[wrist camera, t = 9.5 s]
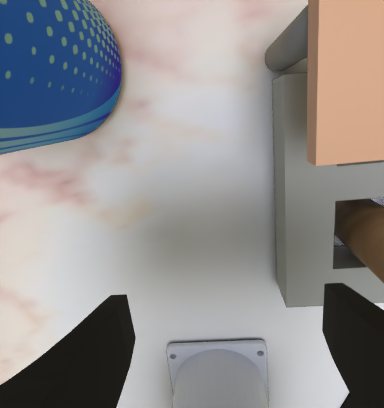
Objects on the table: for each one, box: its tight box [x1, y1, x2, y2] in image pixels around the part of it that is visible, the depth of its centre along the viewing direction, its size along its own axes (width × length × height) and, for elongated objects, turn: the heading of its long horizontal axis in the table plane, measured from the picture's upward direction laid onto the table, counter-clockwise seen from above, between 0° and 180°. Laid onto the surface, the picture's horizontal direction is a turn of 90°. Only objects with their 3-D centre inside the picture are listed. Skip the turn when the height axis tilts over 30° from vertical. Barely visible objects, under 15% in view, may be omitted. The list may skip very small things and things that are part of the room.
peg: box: [334, 198, 384, 283], centre depth 17 cm, size 3×3×7 cm
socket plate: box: [272, 72, 384, 307], centre depth 18 cm, size 14×10×3 cm
